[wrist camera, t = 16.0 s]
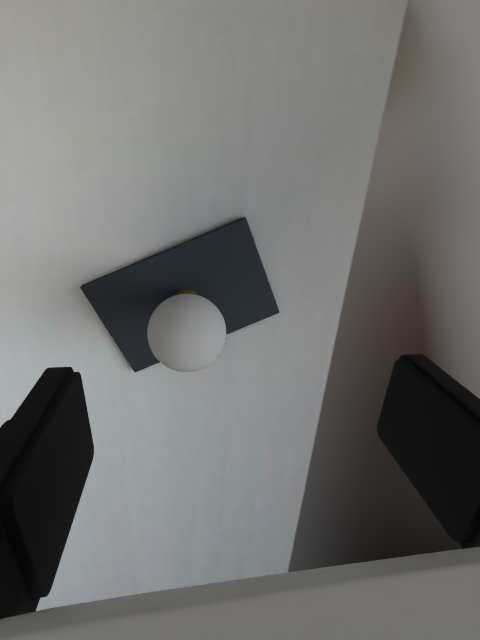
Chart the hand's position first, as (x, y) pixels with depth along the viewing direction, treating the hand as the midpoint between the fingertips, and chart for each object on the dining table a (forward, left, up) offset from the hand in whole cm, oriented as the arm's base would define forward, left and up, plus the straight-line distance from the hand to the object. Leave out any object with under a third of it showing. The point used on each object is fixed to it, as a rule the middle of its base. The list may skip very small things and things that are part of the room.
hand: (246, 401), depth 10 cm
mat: (+4, +4, -23) cm, 23 cm away
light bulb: (+4, +4, -22) cm, 23 cm away
